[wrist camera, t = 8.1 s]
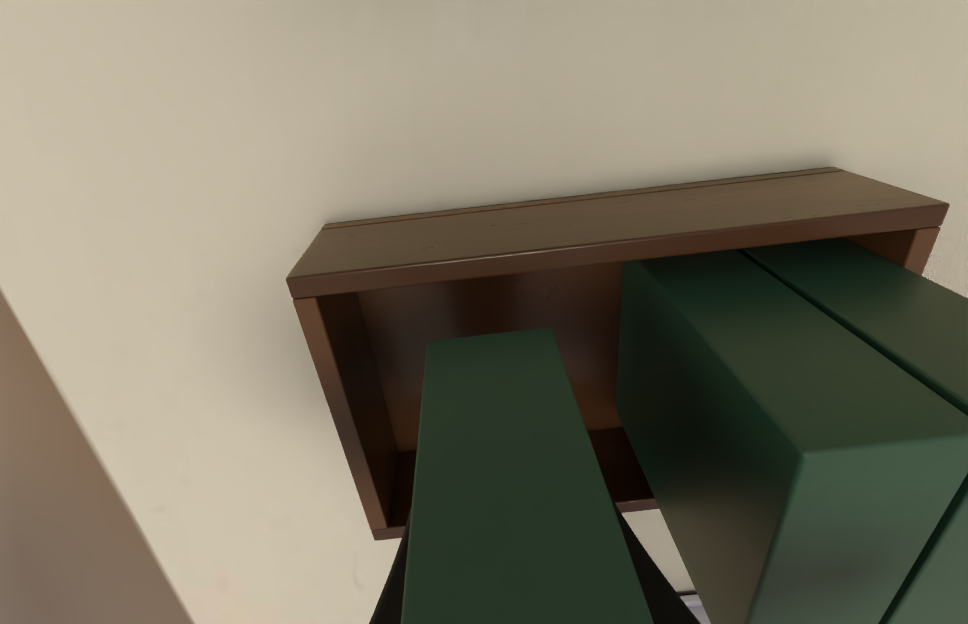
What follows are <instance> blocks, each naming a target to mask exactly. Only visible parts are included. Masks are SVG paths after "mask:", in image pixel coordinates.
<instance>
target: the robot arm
mask: <svg viewBox="0 0 968 624" xmlns="http://www.w3.org/2000/svg"><path fill="white" fill-rule="evenodd" d="M609 495H610V494H609ZM610 498H611V501H612V504H613V507H614V510H615V513H616V516H617V518H618V521H619V524H620V527H621V530H622V533H623V536H624V539H625V542H626V545H627V547H628V550H629V553H630V556H631V559H632V562H633V565H634V568H635V571H636V573H637V576H638V579H639V582H640V585H641V588H642V591H643V594H644V597H645V600H646V602H647V605H648V608H649V611H650V614H651V617H652V620H653V623H654V624H711V623H710V621H709V618H708V616H707V614H706V612H705V609H704V607H703V605H702V603H701V600H700V598H699V596H698V594H695V595H686V596H679V595H678V594H677V593H676V591H675V590H674V589H673V587H672V586H671V585H670V583H669V582H668V581H667V579H666V578H665V577H664V575H663V574H662V572H661V571H660V570H659V568H658V567H657V566H656V564H655V563H654V562H653V560H652V559H651V557H650V556H649V555H648V553H647V552H646V550H645V549H644V547H643V546H642V545H641V543H640V542H639V540H638V539H637V537H636V536H635V534H634V533H633V531H632V530H631V528H630V527H629V525H628V523H627V522H626V520H625V519H624V517H623V516H622V514H621V512H620V511H619V509H618V507H617V506H616V504H615V502H614V501H613V499H612V497H611V495H610ZM410 520H411V510H410V512H409V516H408V519H407V523H406V527H405V530H404V533H403V536H402V539H401V543H400V546H399V548H398V551H397V554H396V557H395V560H394V563H393V565H392V568H391V571H390V573H389V576H388V579H387V581H386V584H385V586H384V589H383V591H382V594H381V596H380V598H379V601H378V603H377V606H376V608H375V611H374V613H373V616H372V618H371V620H370V623H369V624H401V617H402V606H403V595H404V584H405V574H406V563H407V552H408V541H409V531H410Z"/></svg>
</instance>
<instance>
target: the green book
mask: <svg viewBox="0 0 968 624" xmlns="http://www.w3.org/2000/svg"><path fill="white" fill-rule="evenodd" d="M401 624H654V623H653V620H652V617H651V614H650V611H649V608H648V605H647V602H646V600H645V597H644V594H643V591H642V588H641V585H640V582H639V579H638V576H637V573H636V571H635V568H634V565H633V562H632V559H631V556H630V553H629V550H628V547H627V545H626V542H625V539H624V536H623V533H622V530H621V527H620V524H619V521H618V518H617V516H616V513H615V510H614V507H613V504H612V501H611V498H610V495H609V492H608V490H607V487H606V484H605V481H604V478H603V475H602V472H601V469H600V466H599V464H598V461H597V458H596V455H595V452H594V449H593V446H592V443H591V440H590V437H589V435H588V432H587V429H586V426H585V423H584V420H583V417H582V414H581V411H580V409H579V406H578V403H577V400H576V397H575V394H574V391H573V388H572V385H571V382H570V380H569V377H568V374H567V371H566V368H565V365H564V362H563V359H562V356H561V354H560V351H559V348H558V345H557V342H556V339H555V336H554V333H553V330H552V328H541V329H533V330H524V331H515V332H506V333H497V334H488V335H479V336H470V337H461V338H452V339H443V340H434V341H428V342H427V347H426V358H425V369H424V380H423V390H422V401H421V412H420V423H419V433H418V444H417V455H416V466H415V477H414V487H413V498H412V509H411V520H410V531H409V541H408V552H407V563H406V574H405V584H404V595H403V606H402V617H401Z"/></svg>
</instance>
